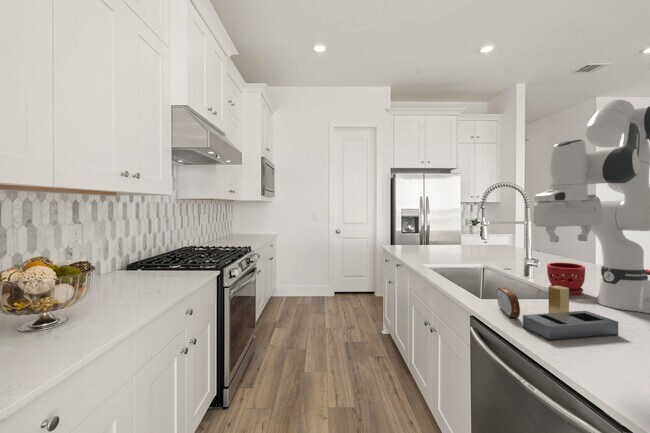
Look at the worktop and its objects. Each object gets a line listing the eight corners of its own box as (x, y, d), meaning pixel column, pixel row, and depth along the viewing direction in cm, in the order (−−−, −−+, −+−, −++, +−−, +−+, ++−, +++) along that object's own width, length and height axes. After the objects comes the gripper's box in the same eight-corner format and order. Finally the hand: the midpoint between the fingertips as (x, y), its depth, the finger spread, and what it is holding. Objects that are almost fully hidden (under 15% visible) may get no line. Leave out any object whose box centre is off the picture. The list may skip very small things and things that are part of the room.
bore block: (585, 323, 101) (585, 310, 101) (618, 335, 91) (618, 321, 91) (522, 327, 99) (522, 315, 99) (549, 340, 89) (549, 326, 89)
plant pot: (543, 287, 146) (543, 261, 145) (578, 289, 141) (578, 262, 140) (552, 295, 133) (552, 266, 133) (590, 297, 129) (590, 268, 128)
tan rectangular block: (557, 313, 110) (557, 285, 110) (569, 317, 107) (568, 288, 106) (548, 315, 109) (548, 286, 109) (560, 319, 105) (560, 289, 105)
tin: (521, 321, 104) (520, 295, 104) (510, 320, 105) (510, 295, 105) (504, 307, 119) (504, 284, 119) (495, 306, 120) (495, 284, 120)
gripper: (589, 194, 98) (589, 239, 99) (529, 196, 96) (529, 241, 96) (610, 193, 92) (610, 241, 93) (546, 195, 90) (546, 243, 90)
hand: (568, 241), depth 94 cm, fingers open, 8 cm apart
